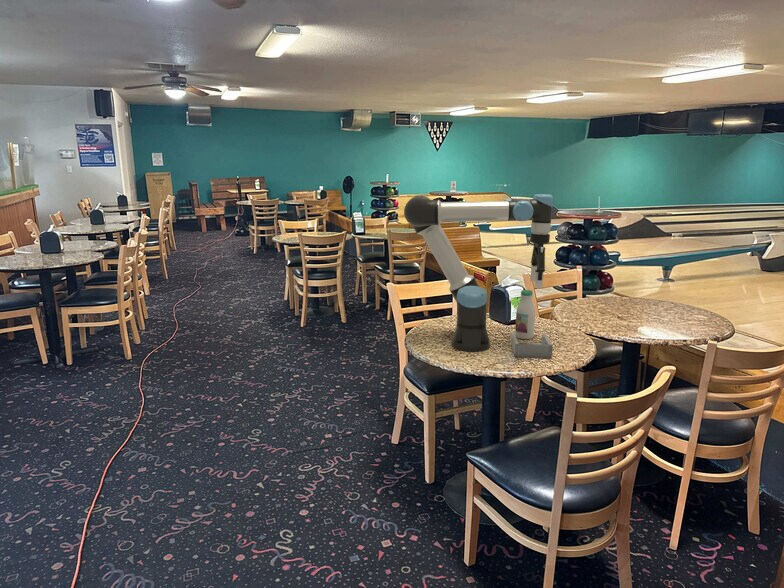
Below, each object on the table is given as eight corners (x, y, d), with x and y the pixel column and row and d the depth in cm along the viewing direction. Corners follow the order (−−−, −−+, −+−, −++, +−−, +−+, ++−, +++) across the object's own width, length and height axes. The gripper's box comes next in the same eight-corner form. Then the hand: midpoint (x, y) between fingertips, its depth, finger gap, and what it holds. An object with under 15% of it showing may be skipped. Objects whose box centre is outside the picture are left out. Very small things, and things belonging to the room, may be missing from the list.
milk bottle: (527, 333, 227) (529, 288, 222) (537, 338, 220) (540, 292, 215) (511, 335, 225) (513, 289, 220) (521, 340, 217) (523, 293, 213)
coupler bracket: (515, 357, 198) (516, 344, 197) (510, 343, 213) (511, 332, 212) (551, 358, 196) (552, 345, 195) (544, 344, 212) (545, 332, 211)
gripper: (555, 237, 199) (550, 291, 204) (544, 230, 223) (540, 278, 228) (535, 236, 200) (530, 290, 205) (526, 229, 224) (522, 278, 229)
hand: (535, 284), depth 217 cm, fingers open, 13 cm apart
